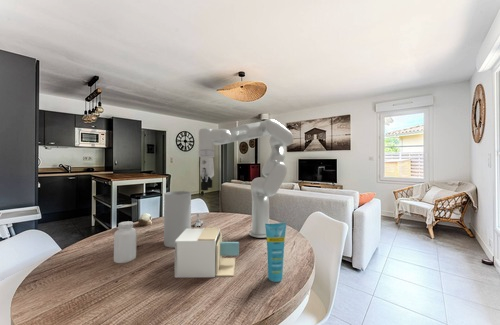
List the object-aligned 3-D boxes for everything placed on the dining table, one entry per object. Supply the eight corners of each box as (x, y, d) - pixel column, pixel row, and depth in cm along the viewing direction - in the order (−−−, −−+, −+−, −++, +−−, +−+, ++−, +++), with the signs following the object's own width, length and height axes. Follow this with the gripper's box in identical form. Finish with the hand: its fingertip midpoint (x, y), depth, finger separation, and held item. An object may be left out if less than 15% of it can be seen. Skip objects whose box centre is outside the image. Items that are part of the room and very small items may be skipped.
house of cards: (209, 227, 129) (209, 215, 129) (194, 228, 127) (194, 216, 127) (207, 223, 138) (207, 212, 138) (194, 224, 135) (194, 212, 135)
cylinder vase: (183, 237, 112) (183, 190, 112) (195, 243, 103) (195, 192, 103) (159, 243, 103) (160, 192, 103) (170, 250, 94) (170, 195, 94)
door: (239, 255, 87) (239, 232, 87) (238, 263, 80) (238, 238, 80) (220, 255, 87) (220, 232, 87) (218, 263, 80) (218, 238, 80)
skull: (140, 220, 138) (152, 209, 138) (150, 232, 136) (161, 221, 136) (128, 224, 126) (141, 212, 126) (139, 237, 124) (151, 225, 124)
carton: (235, 258, 86) (235, 227, 86) (233, 277, 72) (233, 239, 72) (186, 258, 86) (186, 227, 86) (174, 277, 72) (174, 239, 72)
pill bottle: (140, 256, 88) (140, 221, 88) (123, 265, 80) (123, 226, 80) (126, 253, 91) (126, 219, 91) (108, 262, 83) (109, 224, 83)
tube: (267, 283, 69) (267, 225, 69) (263, 275, 73) (263, 221, 73) (288, 280, 70) (288, 224, 70) (282, 273, 75) (283, 220, 75)
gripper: (210, 153, 93) (210, 191, 93) (217, 154, 110) (217, 186, 110) (193, 153, 93) (194, 191, 93) (203, 154, 110) (203, 186, 110)
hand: (206, 189), depth 101 cm, fingers open, 9 cm apart
